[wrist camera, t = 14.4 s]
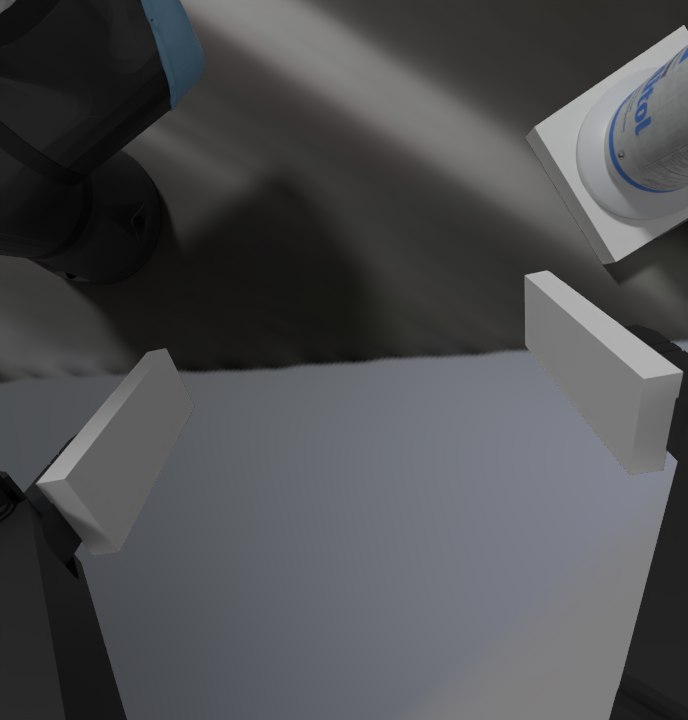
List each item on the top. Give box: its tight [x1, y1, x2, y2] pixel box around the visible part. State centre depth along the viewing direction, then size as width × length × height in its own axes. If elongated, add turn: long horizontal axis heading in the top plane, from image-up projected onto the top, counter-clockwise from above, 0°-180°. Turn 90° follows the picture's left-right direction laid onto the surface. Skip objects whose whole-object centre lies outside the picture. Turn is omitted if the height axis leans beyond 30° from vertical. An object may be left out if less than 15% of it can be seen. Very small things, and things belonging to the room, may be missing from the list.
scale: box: [526, 25, 688, 265], centre depth 40 cm, size 15×15×4 cm
